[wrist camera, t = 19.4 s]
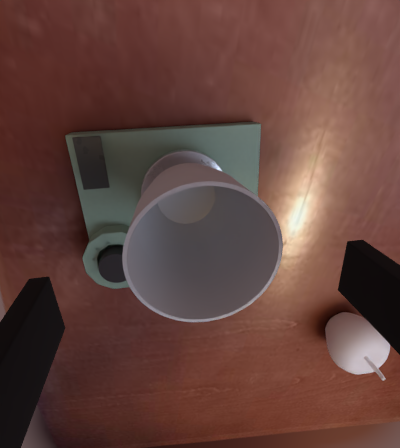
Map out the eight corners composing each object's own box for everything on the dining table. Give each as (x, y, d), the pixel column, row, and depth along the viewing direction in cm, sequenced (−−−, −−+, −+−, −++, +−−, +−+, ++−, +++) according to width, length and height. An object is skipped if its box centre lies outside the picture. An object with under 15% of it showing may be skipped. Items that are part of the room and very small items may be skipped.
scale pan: (95, 240, 25) (93, 244, 24) (72, 137, 21) (69, 138, 20) (226, 226, 26) (228, 230, 25) (226, 128, 22) (228, 129, 22)
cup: (196, 255, 26) (218, 341, 17) (115, 209, 23) (90, 283, 14) (253, 183, 24) (313, 237, 15) (172, 122, 21) (186, 145, 12)
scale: (97, 271, 30) (90, 292, 27) (65, 132, 24) (52, 138, 21) (249, 253, 32) (259, 271, 29) (254, 121, 26) (268, 125, 23)
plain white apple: (323, 350, 40) (360, 406, 33) (307, 319, 37) (344, 373, 30) (369, 327, 40) (416, 379, 33) (356, 293, 37) (406, 342, 30)
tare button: (104, 275, 27) (101, 285, 25) (98, 247, 25) (94, 256, 24) (136, 271, 27) (136, 281, 26) (132, 243, 26) (131, 252, 24)
